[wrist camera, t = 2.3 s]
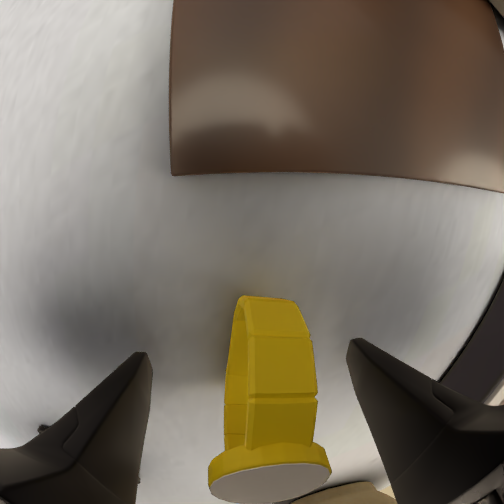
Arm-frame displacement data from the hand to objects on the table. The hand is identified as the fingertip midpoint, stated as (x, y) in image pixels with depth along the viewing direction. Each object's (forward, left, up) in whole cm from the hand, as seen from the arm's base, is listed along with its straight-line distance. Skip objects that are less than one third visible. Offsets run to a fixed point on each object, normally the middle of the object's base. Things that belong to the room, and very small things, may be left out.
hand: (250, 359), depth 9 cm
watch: (0, 0, -1) cm, 1 cm away
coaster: (+5, +13, -1) cm, 14 cm away
